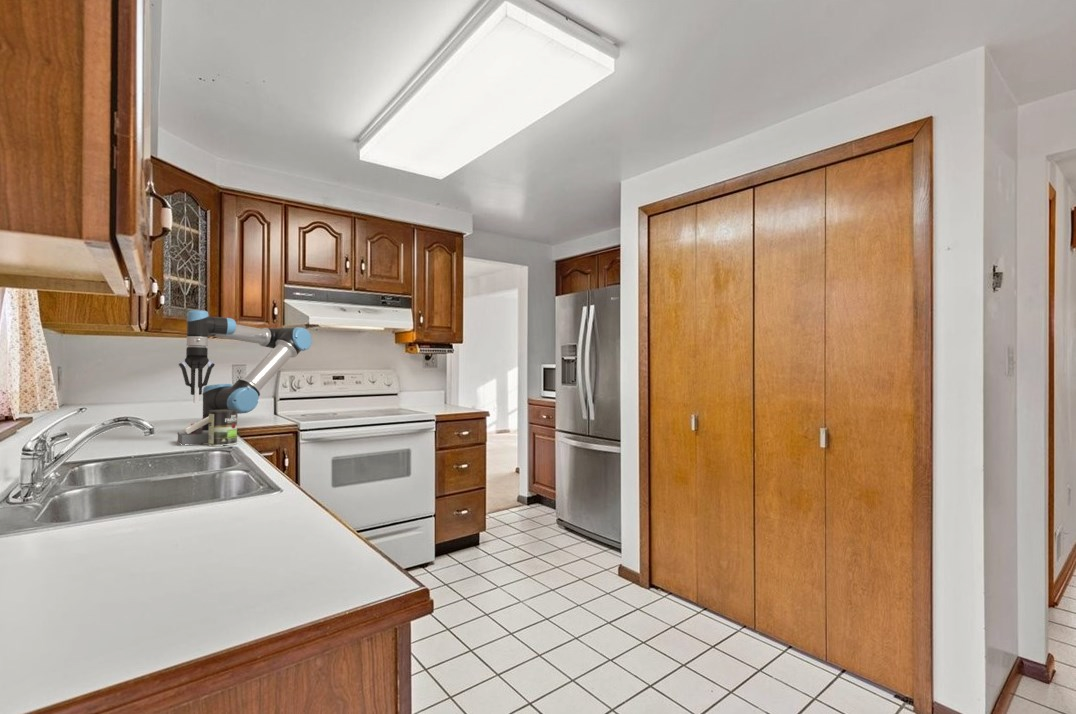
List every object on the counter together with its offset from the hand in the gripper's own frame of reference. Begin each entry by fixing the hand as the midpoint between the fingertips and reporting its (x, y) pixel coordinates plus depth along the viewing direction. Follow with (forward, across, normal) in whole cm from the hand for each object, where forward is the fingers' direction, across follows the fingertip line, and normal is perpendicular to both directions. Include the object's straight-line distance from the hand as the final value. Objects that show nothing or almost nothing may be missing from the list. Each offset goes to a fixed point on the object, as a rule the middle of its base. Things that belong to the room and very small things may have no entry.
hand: (196, 402), depth 221 cm
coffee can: (+17, +7, -15) cm, 24 cm away
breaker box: (+17, 0, -3) cm, 17 cm away
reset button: (+13, 0, 0) cm, 13 cm away
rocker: (+9, 0, -6) cm, 11 cm away
